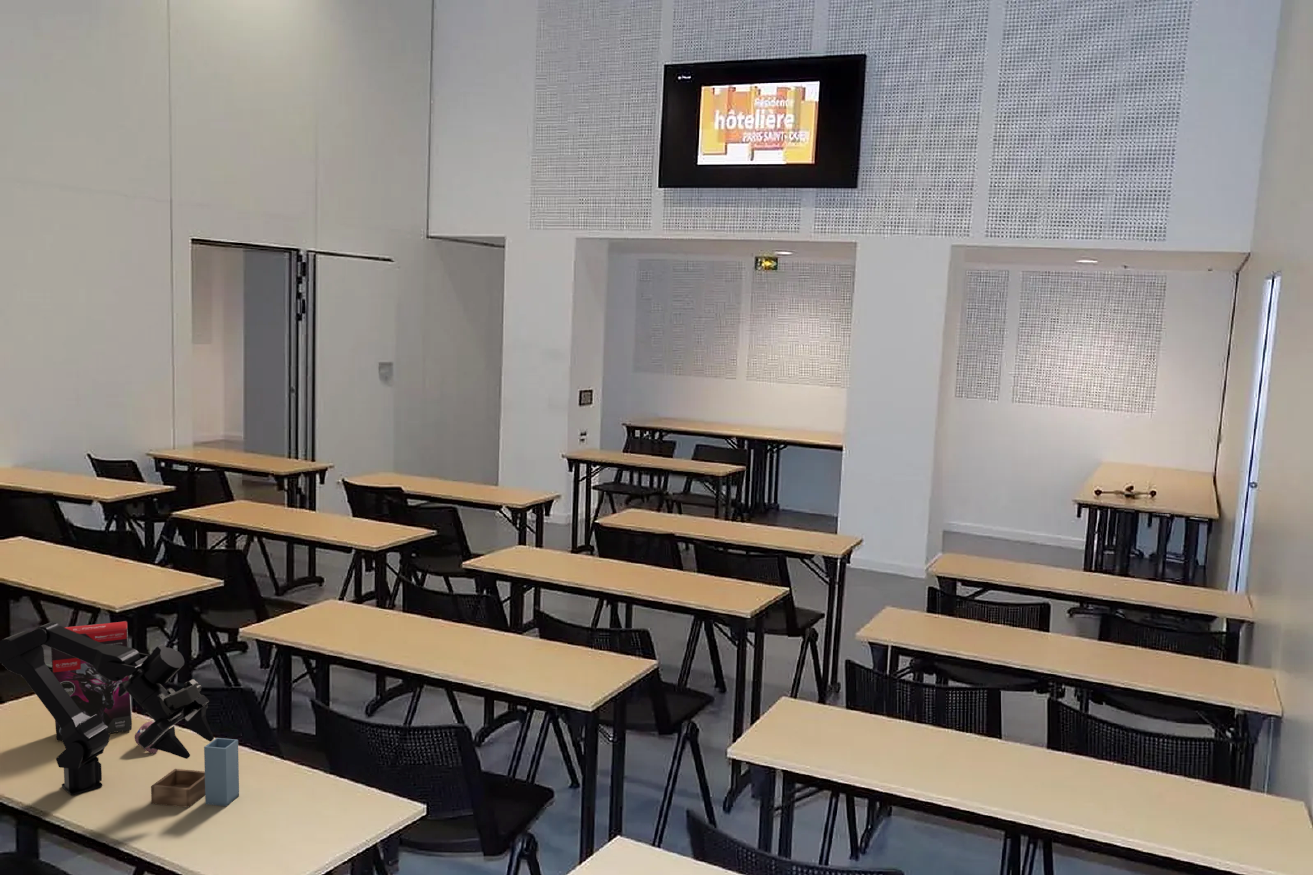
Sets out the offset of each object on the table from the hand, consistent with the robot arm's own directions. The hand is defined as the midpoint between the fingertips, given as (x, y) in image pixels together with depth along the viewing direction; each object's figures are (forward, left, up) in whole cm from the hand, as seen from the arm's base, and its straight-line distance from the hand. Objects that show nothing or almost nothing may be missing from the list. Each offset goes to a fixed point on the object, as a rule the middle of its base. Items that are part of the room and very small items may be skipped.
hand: (200, 748), depth 228 cm
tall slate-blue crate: (+3, -4, -11) cm, 12 cm away
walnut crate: (-3, +4, -11) cm, 12 cm away
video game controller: (+4, +35, -12) cm, 37 cm away
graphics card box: (-3, +53, -12) cm, 55 cm away
